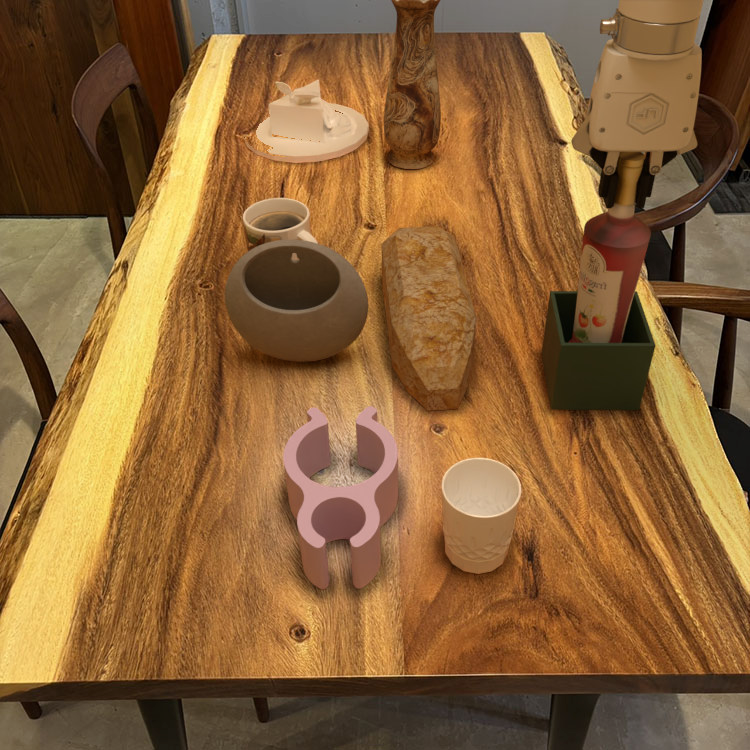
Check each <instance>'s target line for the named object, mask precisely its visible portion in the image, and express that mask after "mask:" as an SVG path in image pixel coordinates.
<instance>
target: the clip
mask: <svg viewBox="0 0 750 750" xmlns="http://www.w3.org/2000/svg"><path fill="white" fill-rule="evenodd" d="M306 411H307V412H306V414H307V422H306V423H304V424H303V425H301V426H300V427H299V428H297V429H296V430H295V431H294V432H293V433H292V435H291V436H290V437H289V438H288V440H287V442H286V444H285V447H284V450H283V456H282V459H283V468H284V476H285V482H286V483H285V484H286V490H287V496H288V497H287V498H288V504H289V508H290V511H291V514H292V515H293V517H294V519H295V520H296V523H297V531H298V540H299V548H300V555H301V563H302V569H303V572H304V574H305V577H306V578H307V580H308V581H309V582H310V583H311V584H312V585H313V586H315V587H316V588H318V589H320V590H326V589H327V588H328V587H329V585H330V574H329V564H328V553H327V544H328V543H331V542H333V541H337V540H349V546H350V547H349V548H350V559H351V560H350V562H351V574H352V577H351V578H352V584H353V586H354V588H355V589H363V588H364V587H367V585H369V584H370V583H371V582H372V581H373V580H374V579H375V577H376V576H377V575H378V572H380V568H381V564H382V554H381V553H382V552H381V549H382V548H381V527H382V526H383V525H384V524H386V523H387V521H389V519H390V518H391V517H392V515H393V514H394V512H395V510H396V508H397V505H398V502H399V501H398V500H399V450H398V445H397V442H396V439H395V438H394V436H393V435H392V433H391V431H389V429H387V428H386V427H385V426H384V425H383V424H381V422H378V408H376V407H374V406H371V405H370V406H366V407H365V408H364V409H363V410H362V411H361V412H359V414H358V415H357V417H356V419H355V433H356V435H355V436H356V437H355V438H356V453H357V454H356V456H357V464H358V466H360V467H363V468H365V469H367V470H369V471H371V472H372V473H374V474H373V475H371V476H370V477H369V478H367V479H365V480H363V481H361V482H359V483H356V484H352V485H347V486H346V485H345V486H331V485H325V484H323V483H322V484H321V483H318V482H316V481H314V480H312V479H311V478H312V477H313V476H314V475H315V474H316V473H318V472H320V471H321V470H323V469H326V468H328V467H330V466H331V465H332V458H331V457H332V456H331V447H330V446H331V445H330V433H329V432H330V431H329V421H328V419H327V416H326V414H325V413H323V412H322V411H321V410H320V409H319V408H318V407H315V406H314V407H311V408H309V409H307V410H306Z"/></svg>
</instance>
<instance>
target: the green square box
mask: <svg viewBox="0 0 750 750" xmlns="http://www.w3.org/2000/svg"><path fill="white" fill-rule="evenodd" d="M577 295H578V290H550V291H549V297H548V303H547V311H546V318H545V324H544V332H543V339H542V346H541V354H540V355H541V361H542V365H543V367H542V368H543V372H544V377H545V378H544V379H545V383H546V388H547V395H548V400H549V401H548V402H549V407H550V410H552V411H553V410H554V411H555V410H556V411H558V410H559V411H640V408H641V405H642V401H643V398H644V397H643V396H644V393H645V390H646V385H647V381H648V377H649V373H650V369H651V366H652V361H653V358H654V354H655V350H656V343H655V339H654V336H653V334H652V331H651V328H650V325H649V322H648V319H647V316H646V313H645V311H644V308H643V305H642V301H641V299H640V295H639V293H638V291H637V290H635V293H634V297H633V300H632V303H631V307H630V311H629V315H628V318H627V322H626V326H625V330H624V334H623V338H622V342H621V343H569V341H570V340H571V339H572V335H573V328H574V320H575V312H576V303H577Z"/></svg>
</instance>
